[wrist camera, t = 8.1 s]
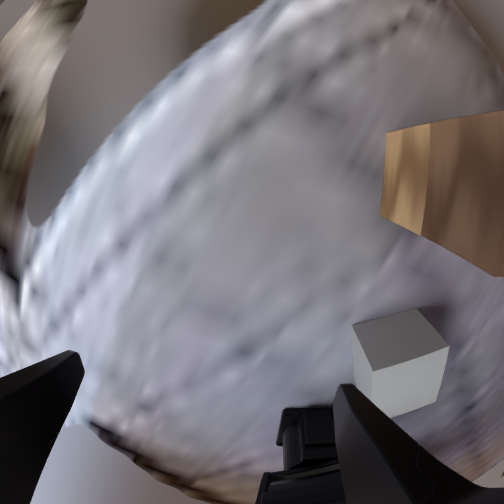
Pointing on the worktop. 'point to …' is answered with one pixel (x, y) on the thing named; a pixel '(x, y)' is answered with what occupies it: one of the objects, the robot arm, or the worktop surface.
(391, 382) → the grey block
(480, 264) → the walnut block
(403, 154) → the oak block
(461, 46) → the worktop surface
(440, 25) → the worktop surface
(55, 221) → the worktop surface
